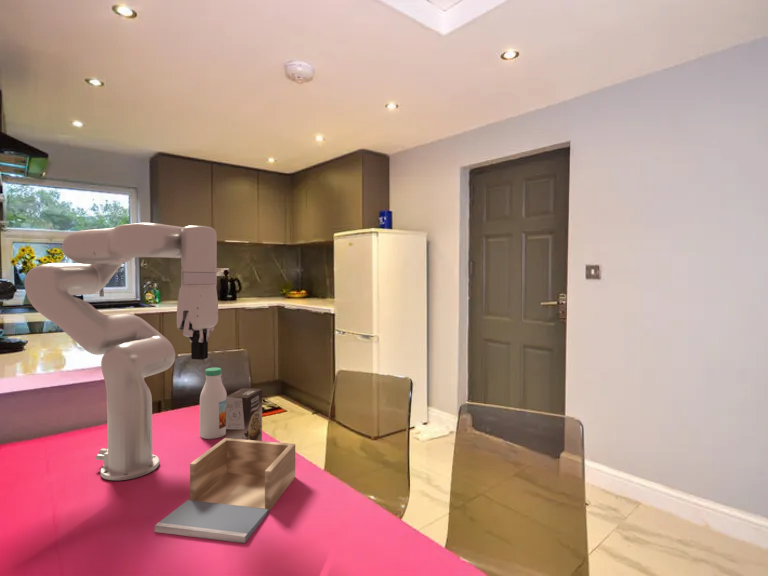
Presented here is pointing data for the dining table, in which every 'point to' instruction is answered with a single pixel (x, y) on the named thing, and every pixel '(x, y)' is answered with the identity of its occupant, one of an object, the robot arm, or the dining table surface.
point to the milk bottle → (213, 405)
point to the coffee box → (244, 414)
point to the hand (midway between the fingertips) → (199, 358)
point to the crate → (243, 473)
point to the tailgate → (212, 521)
